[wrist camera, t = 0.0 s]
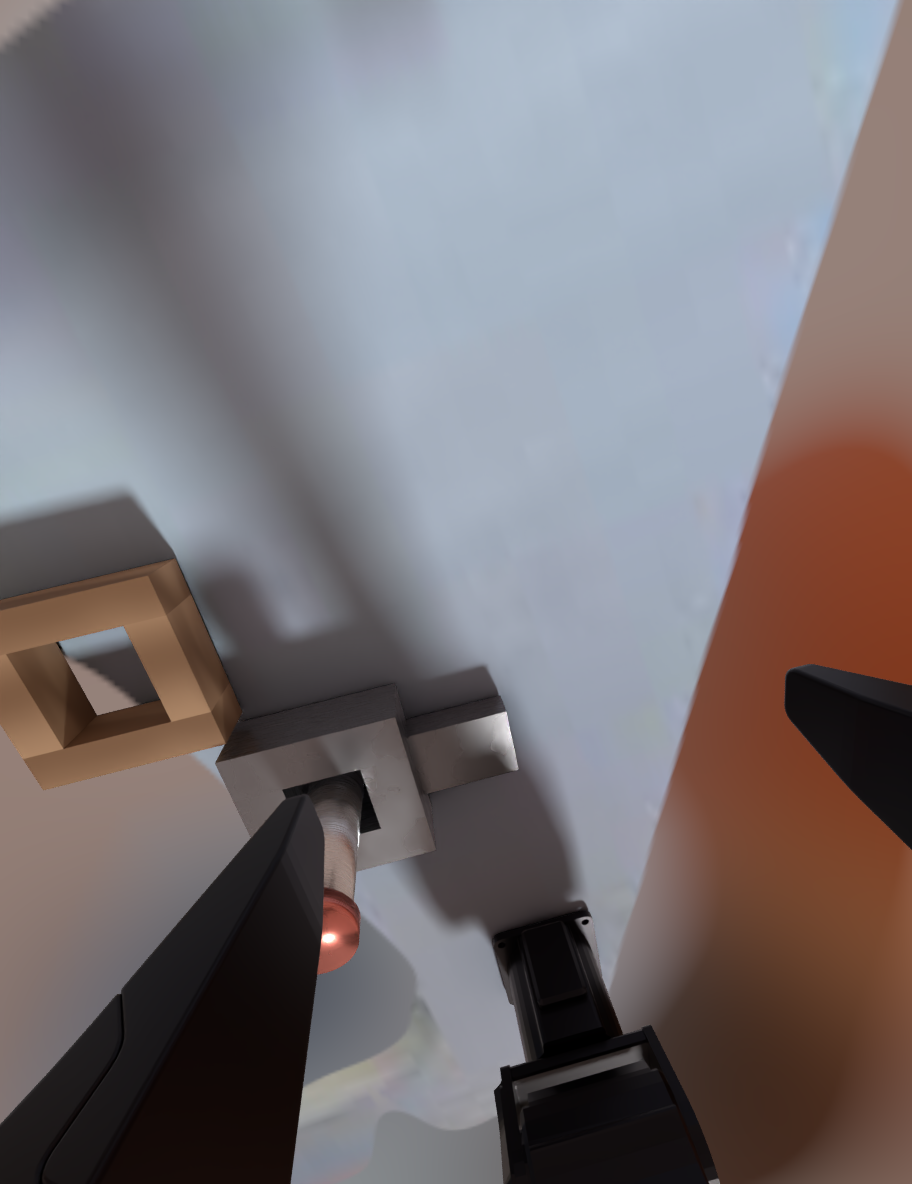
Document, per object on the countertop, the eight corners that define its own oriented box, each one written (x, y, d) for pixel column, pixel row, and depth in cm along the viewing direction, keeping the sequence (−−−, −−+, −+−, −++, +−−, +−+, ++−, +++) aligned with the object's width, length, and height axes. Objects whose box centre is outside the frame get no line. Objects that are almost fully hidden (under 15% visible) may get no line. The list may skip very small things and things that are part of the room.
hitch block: (518, 782, 27) (533, 824, 24) (289, 843, 27) (277, 892, 24) (492, 658, 24) (504, 689, 22) (235, 723, 24) (215, 763, 21)
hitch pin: (377, 782, 26) (369, 960, 18) (319, 798, 26) (282, 984, 17) (361, 734, 25) (344, 898, 16) (299, 750, 25) (250, 923, 16)
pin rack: (242, 712, 24) (225, 743, 21) (78, 753, 24) (43, 790, 21) (175, 558, 21) (147, 575, 19) (-12, 603, 21) (-64, 625, 18)
